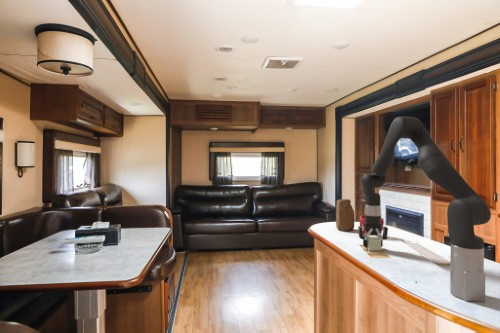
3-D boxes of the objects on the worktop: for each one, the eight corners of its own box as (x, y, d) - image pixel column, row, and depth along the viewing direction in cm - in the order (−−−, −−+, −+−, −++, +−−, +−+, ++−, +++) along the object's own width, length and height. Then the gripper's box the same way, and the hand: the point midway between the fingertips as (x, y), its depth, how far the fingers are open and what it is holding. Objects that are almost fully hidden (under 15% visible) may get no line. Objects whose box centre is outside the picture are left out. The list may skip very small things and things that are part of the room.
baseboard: (429, 266, 131) (453, 266, 131) (429, 260, 131) (453, 260, 131) (398, 245, 161) (417, 245, 161) (398, 240, 161) (417, 240, 161)
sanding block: (381, 252, 145) (381, 239, 145) (369, 251, 145) (369, 239, 145) (375, 247, 153) (375, 235, 152) (364, 246, 153) (364, 235, 153)
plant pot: (361, 240, 171) (361, 219, 170) (357, 234, 184) (357, 214, 183) (386, 241, 168) (386, 219, 168) (380, 235, 181) (380, 215, 181)
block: (338, 231, 191) (338, 200, 190) (335, 228, 198) (335, 198, 198) (355, 231, 191) (355, 200, 190) (351, 228, 199) (351, 198, 198)
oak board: (391, 261, 136) (391, 257, 136) (371, 260, 137) (371, 257, 137) (376, 247, 156) (376, 244, 156) (359, 247, 157) (359, 244, 157)
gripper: (359, 215, 145) (360, 249, 145) (390, 215, 144) (390, 250, 144) (355, 212, 152) (355, 245, 153) (385, 212, 151) (385, 245, 152)
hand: (372, 247), depth 149 cm, fingers open, 6 cm apart
